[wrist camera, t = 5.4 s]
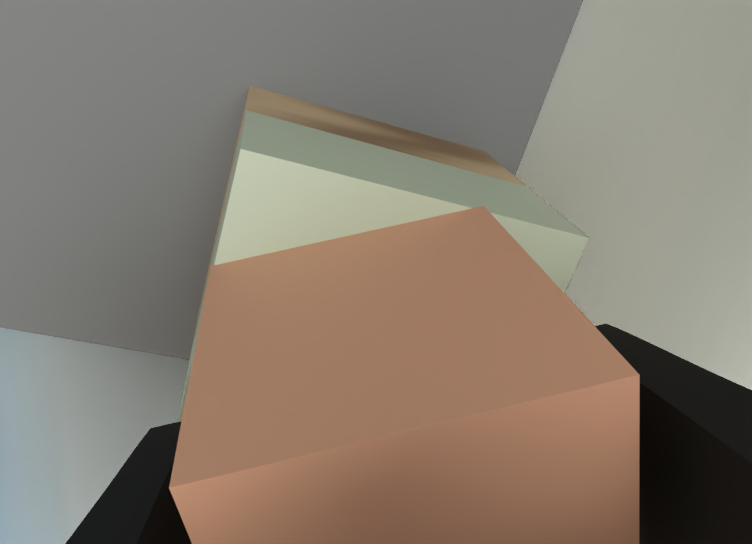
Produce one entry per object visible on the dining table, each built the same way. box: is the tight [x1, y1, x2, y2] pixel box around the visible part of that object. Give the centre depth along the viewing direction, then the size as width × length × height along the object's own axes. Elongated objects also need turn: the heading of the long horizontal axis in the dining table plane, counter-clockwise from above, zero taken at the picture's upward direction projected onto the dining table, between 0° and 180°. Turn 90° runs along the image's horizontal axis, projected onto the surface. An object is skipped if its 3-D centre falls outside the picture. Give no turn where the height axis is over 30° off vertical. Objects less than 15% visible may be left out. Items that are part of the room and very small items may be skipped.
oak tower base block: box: [187, 86, 526, 369], centre depth 16 cm, size 6×6×3 cm
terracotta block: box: [169, 206, 640, 544], centre depth 9 cm, size 4×4×5 cm
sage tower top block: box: [177, 110, 589, 422], centre depth 13 cm, size 6×6×3 cm
